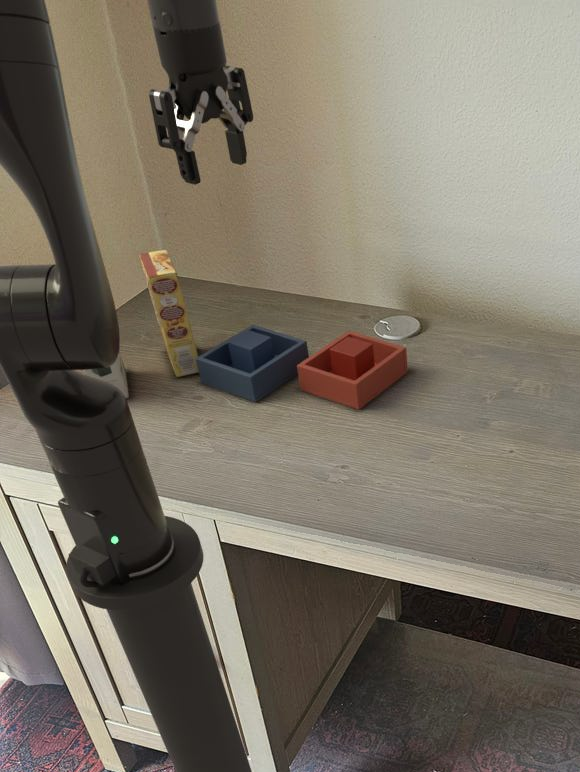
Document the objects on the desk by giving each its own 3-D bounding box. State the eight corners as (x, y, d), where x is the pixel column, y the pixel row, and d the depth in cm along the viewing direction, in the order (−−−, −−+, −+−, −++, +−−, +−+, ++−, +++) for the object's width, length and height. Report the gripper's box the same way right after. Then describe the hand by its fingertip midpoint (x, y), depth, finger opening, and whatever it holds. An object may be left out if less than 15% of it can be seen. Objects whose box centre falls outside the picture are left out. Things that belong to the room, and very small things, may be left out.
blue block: (257, 381, 128) (251, 349, 124) (234, 373, 129) (227, 342, 126) (277, 368, 130) (271, 337, 127) (254, 360, 132) (247, 329, 128)
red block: (358, 388, 126) (354, 356, 123) (333, 380, 128) (329, 348, 124) (375, 375, 129) (372, 343, 126) (351, 367, 131) (348, 336, 127)
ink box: (93, 375, 130) (66, 299, 121) (127, 370, 131) (103, 294, 122) (93, 404, 124) (66, 326, 116) (129, 399, 125) (104, 320, 117)
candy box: (203, 373, 130) (178, 271, 119) (175, 378, 129) (147, 276, 118) (192, 347, 136) (167, 248, 125) (165, 352, 135) (137, 253, 124)
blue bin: (255, 402, 125) (250, 377, 122) (201, 383, 128) (195, 358, 125) (310, 365, 132) (306, 340, 129) (257, 348, 136) (252, 324, 133)
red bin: (358, 409, 123) (356, 384, 120) (300, 390, 127) (296, 365, 124) (407, 372, 131) (406, 347, 128) (351, 354, 135) (348, 330, 132)
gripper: (204, 5, 104) (232, 152, 116) (114, 27, 95) (154, 184, 107) (252, 11, 101) (275, 162, 113) (164, 35, 93) (199, 195, 104)
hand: (216, 173), depth 110 cm, fingers open, 8 cm apart
